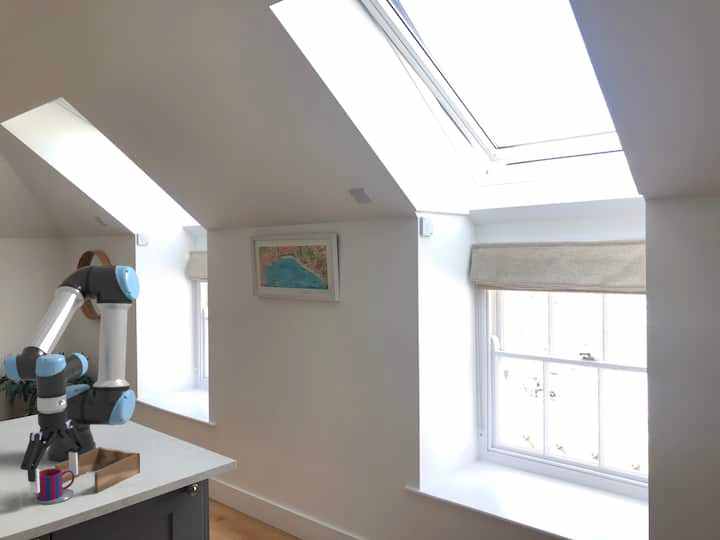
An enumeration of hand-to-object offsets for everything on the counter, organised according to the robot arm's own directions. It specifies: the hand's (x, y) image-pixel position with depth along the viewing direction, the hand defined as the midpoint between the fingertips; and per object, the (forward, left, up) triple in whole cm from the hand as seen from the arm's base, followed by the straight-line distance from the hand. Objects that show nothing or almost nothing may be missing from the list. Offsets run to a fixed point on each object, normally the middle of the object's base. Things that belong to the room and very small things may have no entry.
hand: (55, 482), depth 183 cm
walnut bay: (+1, +15, -4) cm, 16 cm away
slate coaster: (0, 0, -4) cm, 4 cm away
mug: (0, 0, -4) cm, 4 cm away
